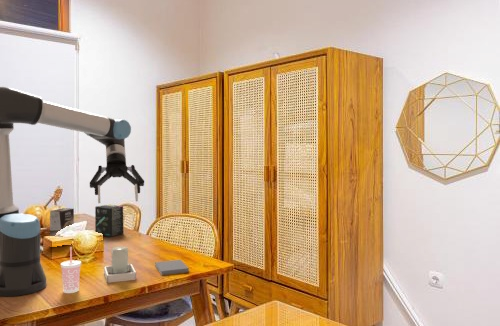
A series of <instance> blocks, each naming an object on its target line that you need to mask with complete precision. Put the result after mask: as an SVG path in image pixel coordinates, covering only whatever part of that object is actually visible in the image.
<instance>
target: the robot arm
mask: <svg viewBox="0 0 500 326" xmlns="http://www.w3.org/2000/svg"><path fill="white" fill-rule="evenodd" d="M14 124H28V125H31V126H35V125H37V124H42V125H47V126H51V127H57V128H61V129H65V130H71V131H76V132H81V133H84V134H85V135H86V136H88V137H90V138H92V139H93V140H95V141H97V142H99V143H100V144H103V145H104V146H105V153H106V154H105V155H106V156H105V157H106V158H105V159H106V166H102V165H98V166H97V167H98V169H97V171H96V172H95V174H94V175H93V177H92V178H91V180H90V181H89V188H90V189H94V195H95V196H97V202H98V204H101V186H102V185H103V184H104V183H106V182H107V181H108V180H110V179H111V178H124V179H126V180H127V181H128V182H129V183H131V184H132V185H133V186H134V195H135V202H139V194H140V193H141V187H144V186H145V180H144V179H143V177H142V176H141V175H140V173H139V172H138V170H136V167H135V165H134V164H132V165H131V166H127V160H126V159H127V158H126V156H127V155H126V145H125V139H128V138H129V136H130V135H131V133H132V126H131V124H130V123H129V122H128V120H125V119H121V118H119V119H115V118H111V117H109V116H108V117H107V116H104V115H99V114H96V113H94V112H93V113H92V112H88V111H84V110H80V109H77V108H74V107H73V108H72V107H68V106H64V105H60V104H57V103H55V102H54V103H53V102H50V101H46V100H43V98H42V97H41V96H39V95H35V94H31V93H29V92H24V91H22V90H18V89H15V88H12V87H8V86H7V87H6V86H0V297H17V296H18V297H20V296H24V295H30V294H34V293H36V292H39V291H42V290H43V289H45V287H47V277H46V274H45V271H44V268H43V265H42V264H41V231H42V230H41V224H40V223H41V222H40V219H39V217H37V216H35V215H34V214H30V213H27V214H26V213H20V212H19V210H20V208H19V207H18V206H17V205H15V204H14V197H13V196H14V195H13V193H14V192H13V181H12V164H11V147H10V133H12V132H13V131H14V130H15V129H14ZM104 172H106V173H104ZM129 172H130V173H131V174H132V175H131V174H130V173H129ZM103 173H104V175H102V174H103Z"/></svg>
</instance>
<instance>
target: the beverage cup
mask: <svg viewBox="0 0 500 326" xmlns="http://www.w3.org/2000/svg"><path fill="white" fill-rule="evenodd" d="M69 249H70V251H69V253H70V254H69V255H70V257H69V260H65V261H63V262H61V263H60V267H61V276H62V289H63V293H64V294H73V293H76V292H78V291H80V278H81V277H80V274H81V266H82V261H81V260H78V259H77V260H75V259H73V258H72V257H73V255H72V254H73V252H72V251H73V247H72V246H70V247H69Z"/></svg>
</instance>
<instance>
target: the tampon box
mask: <svg viewBox="0 0 500 326" xmlns="http://www.w3.org/2000/svg"><path fill="white" fill-rule="evenodd" d="M94 208H95V209H94V210H95V211H94V213H95V215H94V217H95V219H94V221H95V222H94V223H95V227H94V229H95V230H94V232H98V233H102V234H103V235H104V236H103V237H106V238H107V237H108V238H111V237H115V236H121V235H124V234H125V233H124V206H122V205H114V204H103V205H99V206H98V205H97V206H95V207H94Z"/></svg>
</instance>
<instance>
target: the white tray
mask: <svg viewBox="0 0 500 326" xmlns="http://www.w3.org/2000/svg"><path fill="white" fill-rule="evenodd" d="M103 269H104V270H103V272H104V278H105V281H106V283H107V284H109V283H118V282H126V281H134V280H137V271H136V270H135V268H134V265H133V264H132V263H128V273H122V274H113V275H112V265H106V266H104V267H103Z"/></svg>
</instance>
